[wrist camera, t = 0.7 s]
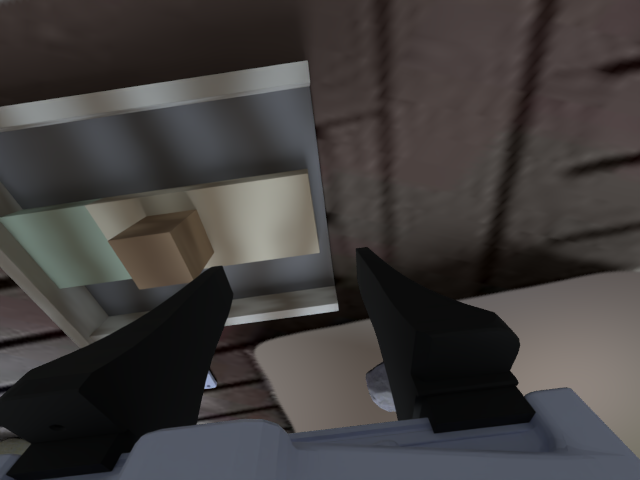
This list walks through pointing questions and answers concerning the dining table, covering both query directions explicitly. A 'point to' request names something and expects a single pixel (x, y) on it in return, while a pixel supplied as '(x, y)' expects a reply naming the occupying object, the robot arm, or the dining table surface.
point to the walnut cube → (164, 249)
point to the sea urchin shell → (14, 446)
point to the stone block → (380, 387)
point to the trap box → (167, 195)
